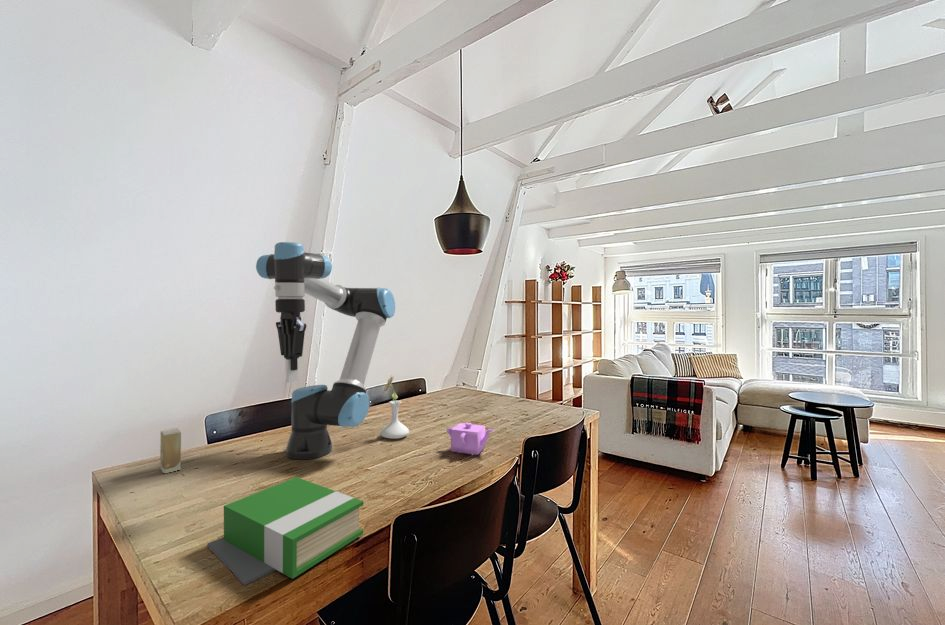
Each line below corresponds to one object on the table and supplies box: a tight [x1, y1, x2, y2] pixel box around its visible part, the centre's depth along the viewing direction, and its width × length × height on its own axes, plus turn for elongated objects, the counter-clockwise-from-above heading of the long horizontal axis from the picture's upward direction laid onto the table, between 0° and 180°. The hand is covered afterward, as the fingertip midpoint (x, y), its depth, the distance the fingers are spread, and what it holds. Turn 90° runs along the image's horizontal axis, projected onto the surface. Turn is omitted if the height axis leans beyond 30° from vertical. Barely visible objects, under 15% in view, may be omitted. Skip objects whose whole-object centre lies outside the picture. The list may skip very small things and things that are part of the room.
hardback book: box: [223, 476, 364, 580], centre depth 89 cm, size 18×7×24 cm
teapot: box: [446, 422, 495, 456], centre depth 144 cm, size 18×14×10 cm
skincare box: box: [159, 427, 182, 474], centre depth 125 cm, size 6×4×12 cm
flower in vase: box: [379, 375, 410, 440], centre depth 159 cm, size 13×11×25 cm
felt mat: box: [206, 536, 277, 586], centre depth 89 cm, size 19×22×1 cm
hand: (292, 381), depth 114 cm, fingers closed
